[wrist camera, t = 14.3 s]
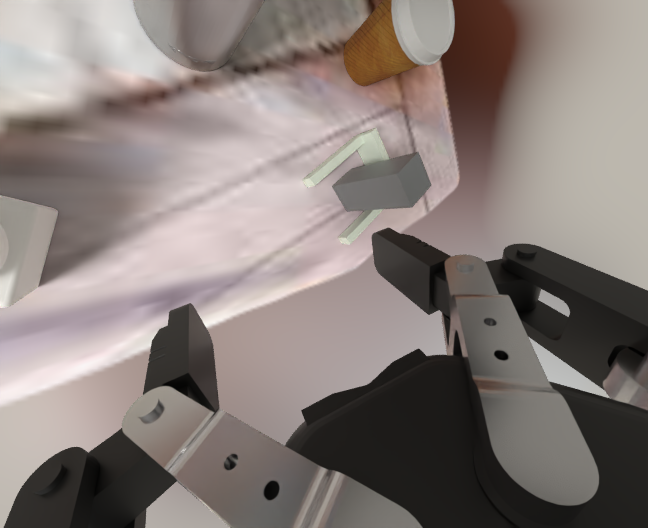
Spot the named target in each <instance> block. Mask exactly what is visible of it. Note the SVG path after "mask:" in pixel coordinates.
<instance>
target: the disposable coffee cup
mask: <svg viewBox="0 0 648 528" xmlns="http://www.w3.org/2000/svg"><path fill="white" fill-rule="evenodd" d="M454 25H455V21H454V8H453V3H452V0H383V1H382V3H380V4H379V6H378V7H377V8H376V9H375V10H374V11H373V13H372V14H371V15H370V16H369V17H368V18H367V19H366V21H365V22H364V23H363V24H362V25H361V26H360V28H359V29H358V30H357V31H356V32H355V33H354V34H353V36H352V37H351V38H350V39H349V40H348V41H347V43H346V45H345V48H344V62H345V66H346V69H347V72H348V74H349V75H350V77H351V78H352V79H353V81H354V82H356V83H357V84H359V85H361V86H367V85H370V84H372V83H375V82H378V81H380V80H383V79H386V78H388V77H391V76H393V75H396V74H399V73H401V72H404V71H407V70H409V69H412V68H415V67H417V66H420V65H432V64H434V63H436V62H437V61H438V60H439V59H440V58H441V56H442V54H443V53H445V52H446V51H447V50H448V48H449V46H450V44H451V42H452V38H453V35H454Z"/></svg>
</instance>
